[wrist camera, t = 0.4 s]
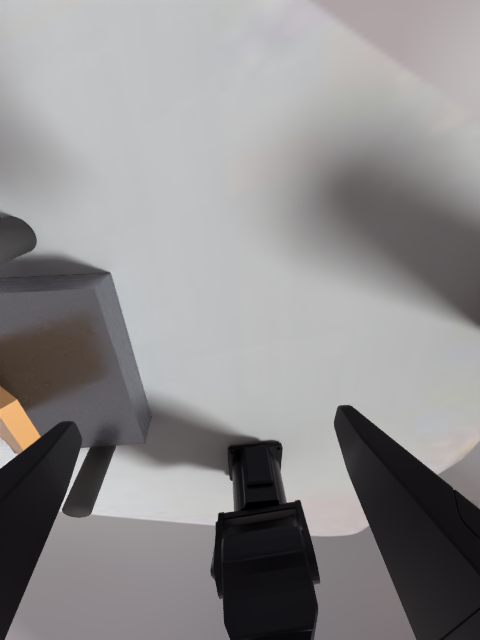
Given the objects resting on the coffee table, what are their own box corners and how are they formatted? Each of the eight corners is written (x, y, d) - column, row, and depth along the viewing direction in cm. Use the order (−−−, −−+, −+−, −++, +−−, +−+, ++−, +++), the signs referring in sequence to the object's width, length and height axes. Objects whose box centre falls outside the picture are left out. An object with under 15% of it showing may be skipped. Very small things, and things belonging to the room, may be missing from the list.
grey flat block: (151, 417, 28) (144, 442, 25) (32, 426, 27) (13, 453, 25) (110, 273, 20) (94, 288, 17) (-60, 281, 19) (-103, 298, 17)
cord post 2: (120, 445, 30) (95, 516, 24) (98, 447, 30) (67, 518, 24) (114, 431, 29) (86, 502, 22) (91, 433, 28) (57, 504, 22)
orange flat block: (-40, 353, 19) (-59, 361, 18) (16, 398, 15) (-5, 410, 14) (7, 421, 22) (-7, 430, 22) (62, 471, 19) (47, 483, 18)
